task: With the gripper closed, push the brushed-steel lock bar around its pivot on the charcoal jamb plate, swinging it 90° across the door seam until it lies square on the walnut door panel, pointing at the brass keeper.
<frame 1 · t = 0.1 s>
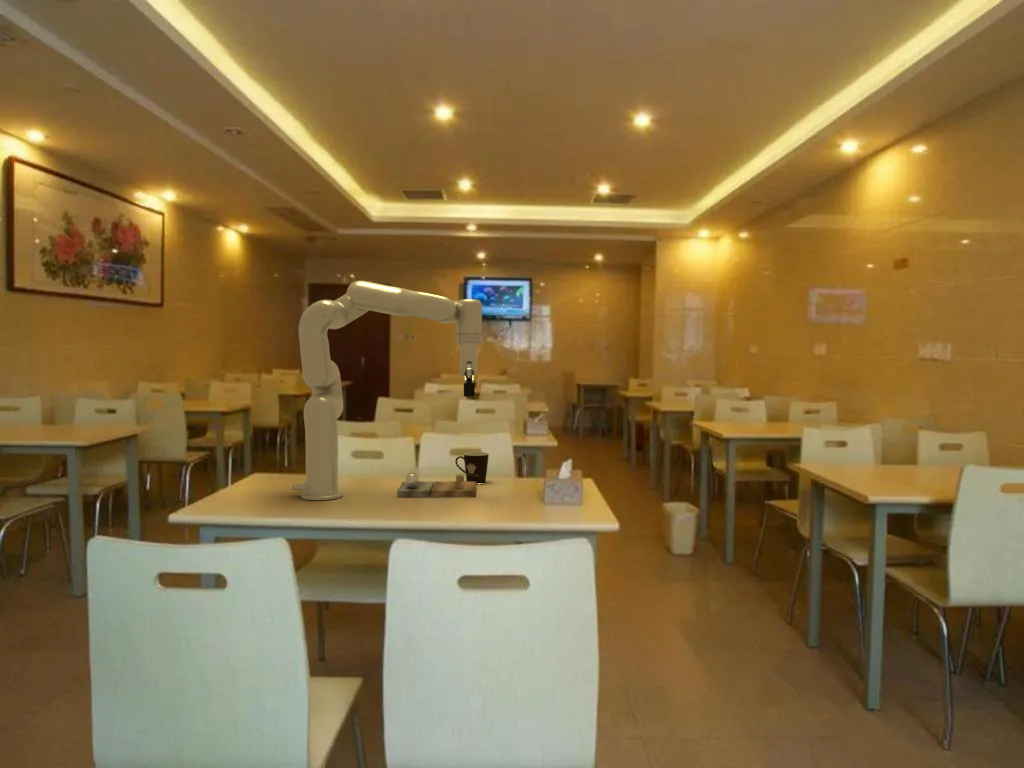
hand: (469, 395, 212), 31 cm above the table, tool pointing down, fingers open, 9 cm apart
coffee mug: (473, 482, 237), on the table
lock bar: (413, 477, 220), point 4 cm above the table, hinge at 0.0°
door jamb board: (438, 492, 219), on the table
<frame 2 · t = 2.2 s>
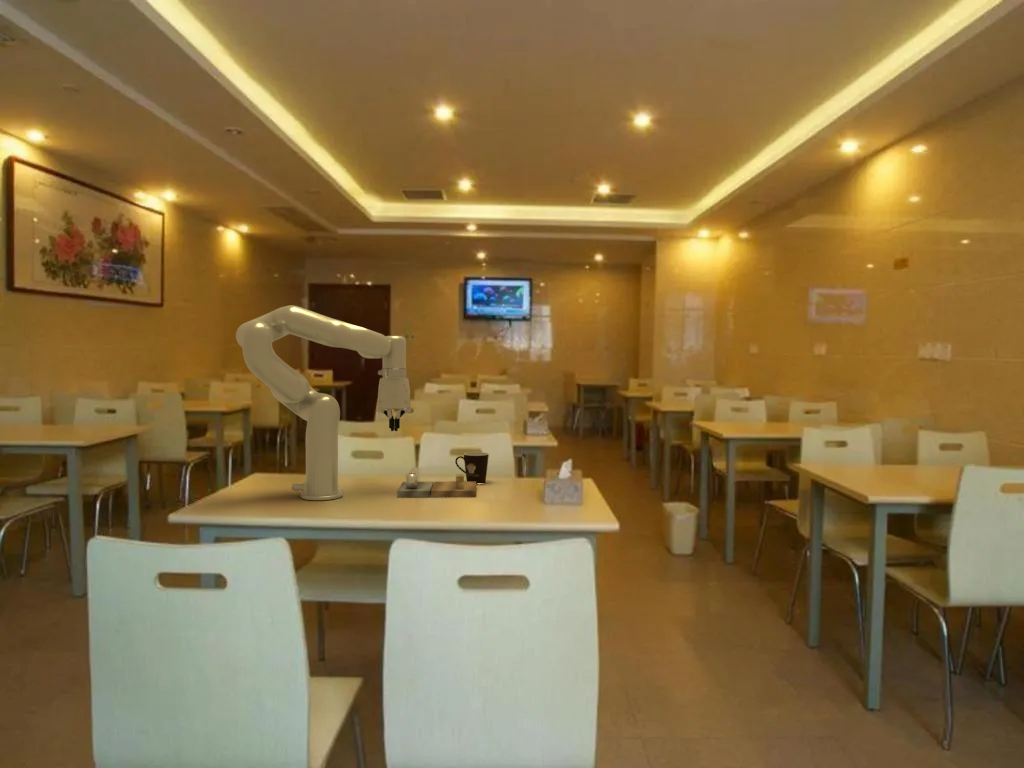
hand: (394, 430, 223), 19 cm above the table, tool pointing down, fingers closed
nothing on the table moved.
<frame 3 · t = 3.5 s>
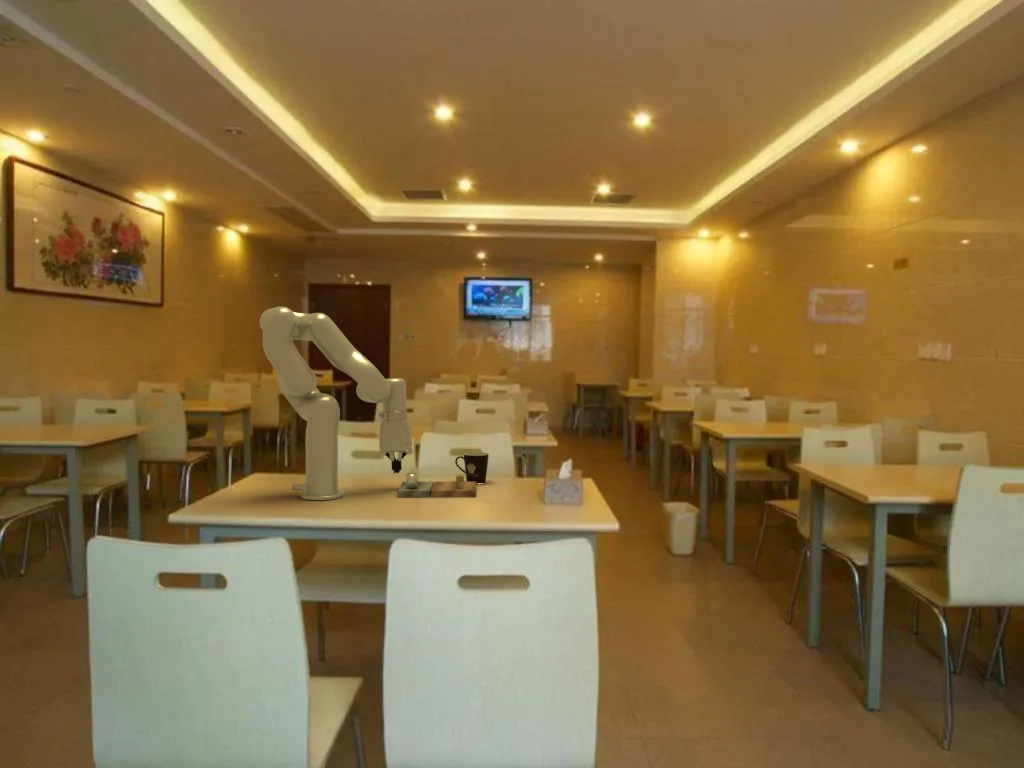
hand: (396, 472, 224), 5 cm above the table, tool pointing down, fingers closed
nothing on the table moved.
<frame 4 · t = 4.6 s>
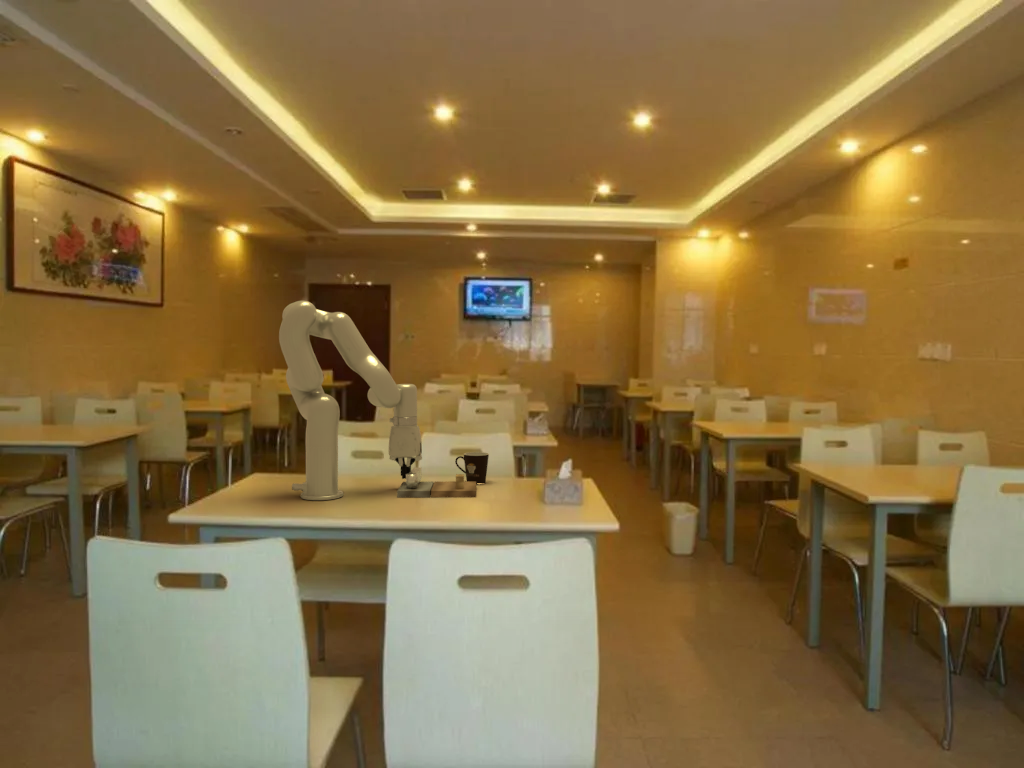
hand: (405, 478, 224), 4 cm above the table, tool pointing down, fingers closed
lock bar: (414, 477, 220), point 4 cm above the table, hinge at -3.0°, touching gripper
everything else where it was.
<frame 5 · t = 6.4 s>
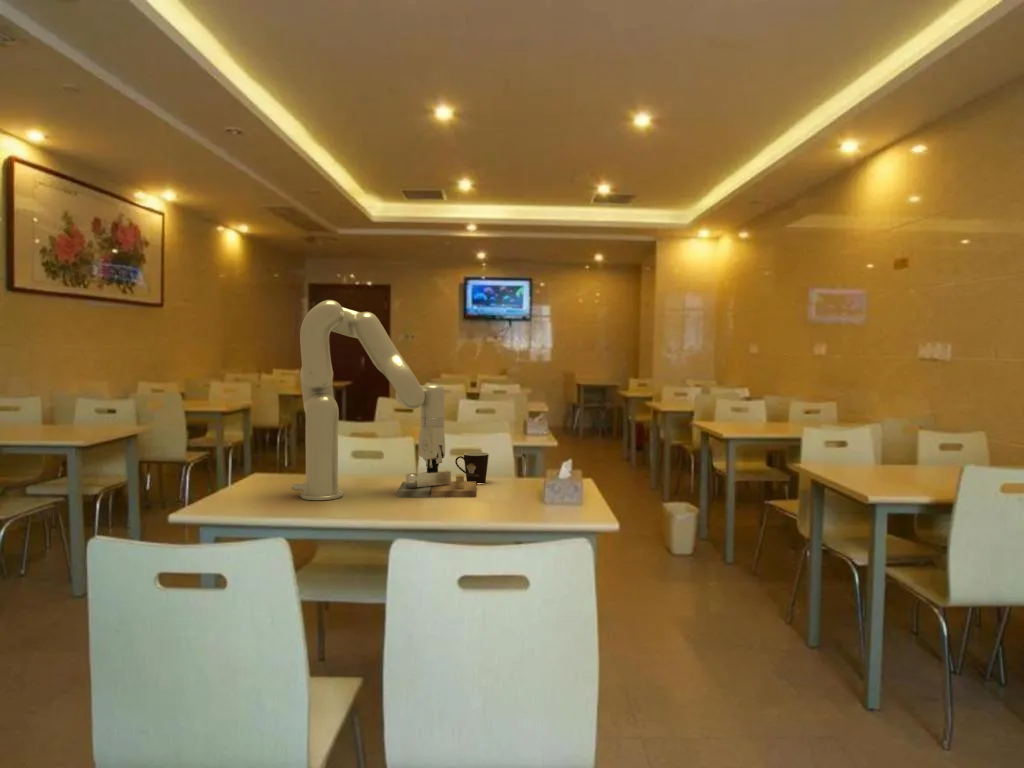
hand: (432, 479, 222), 3 cm above the table, tool pointing down, fingers closed
lock bar: (428, 478, 218), point 4 cm above the table, hinge at -61.0°, touching gripper
everything else where it was.
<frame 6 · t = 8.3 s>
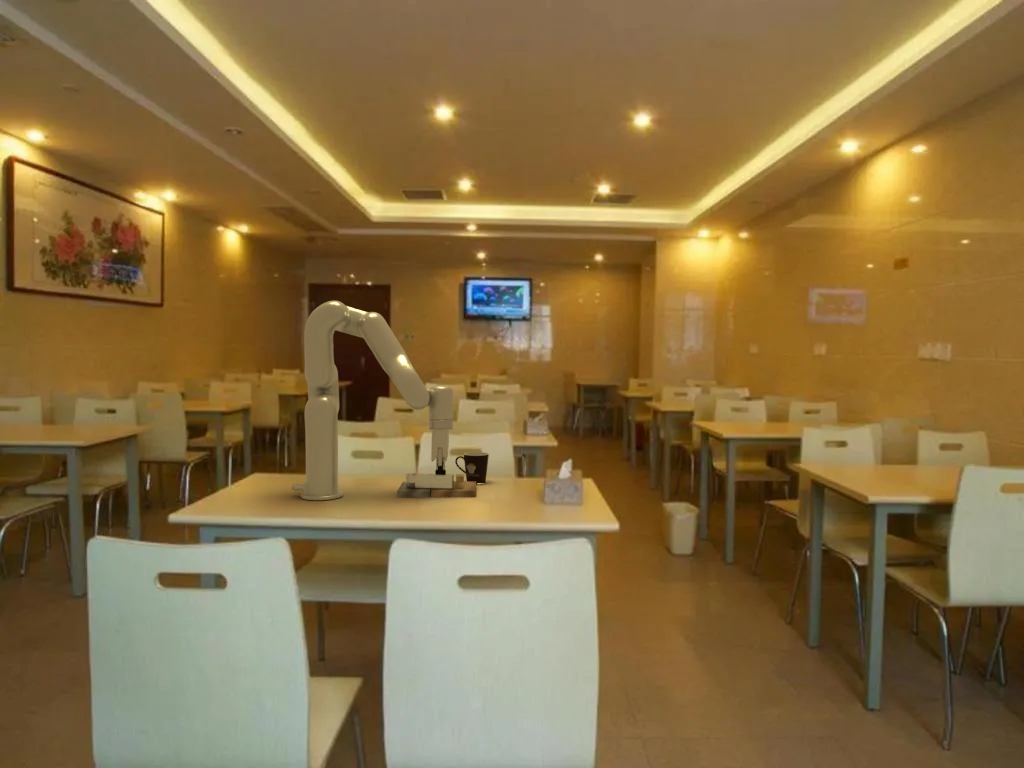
hand: (440, 482, 218), 3 cm above the table, tool pointing down, fingers closed
lock bar: (429, 480, 214), point 4 cm above the table, hinge at -97.3°, touching gripper
everything else where it was.
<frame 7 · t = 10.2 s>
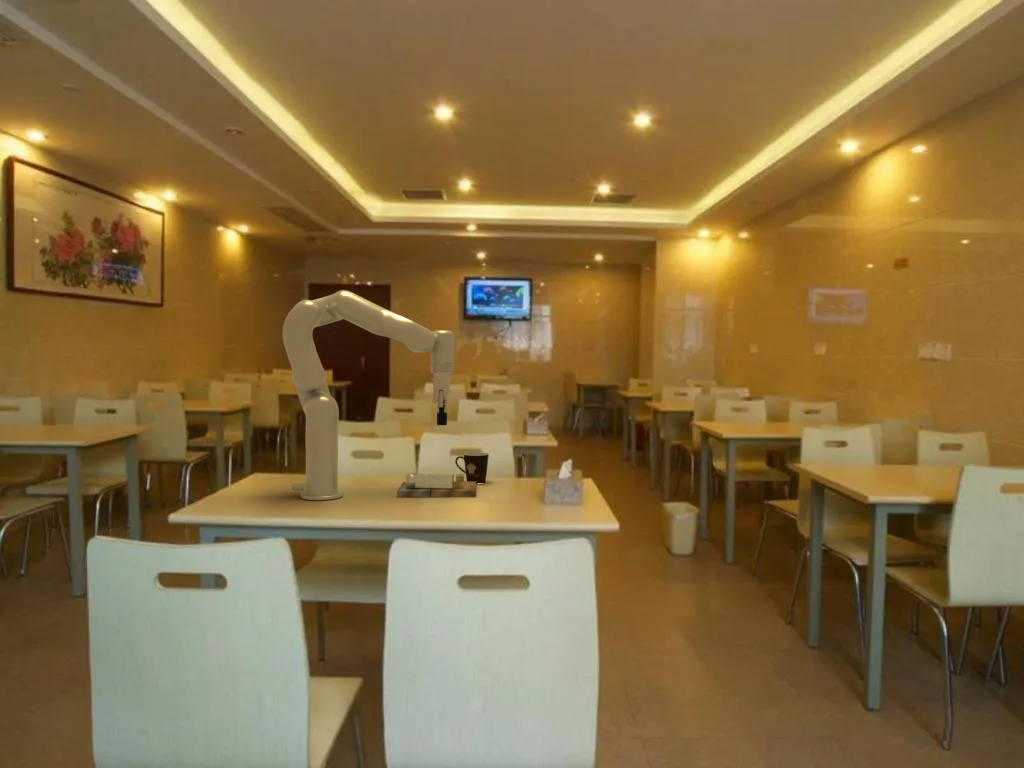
hand: (441, 425, 223), 21 cm above the table, tool pointing down, fingers closed
lock bar: (429, 480, 214), point 4 cm above the table, hinge at -96.9°
everything else where it was.
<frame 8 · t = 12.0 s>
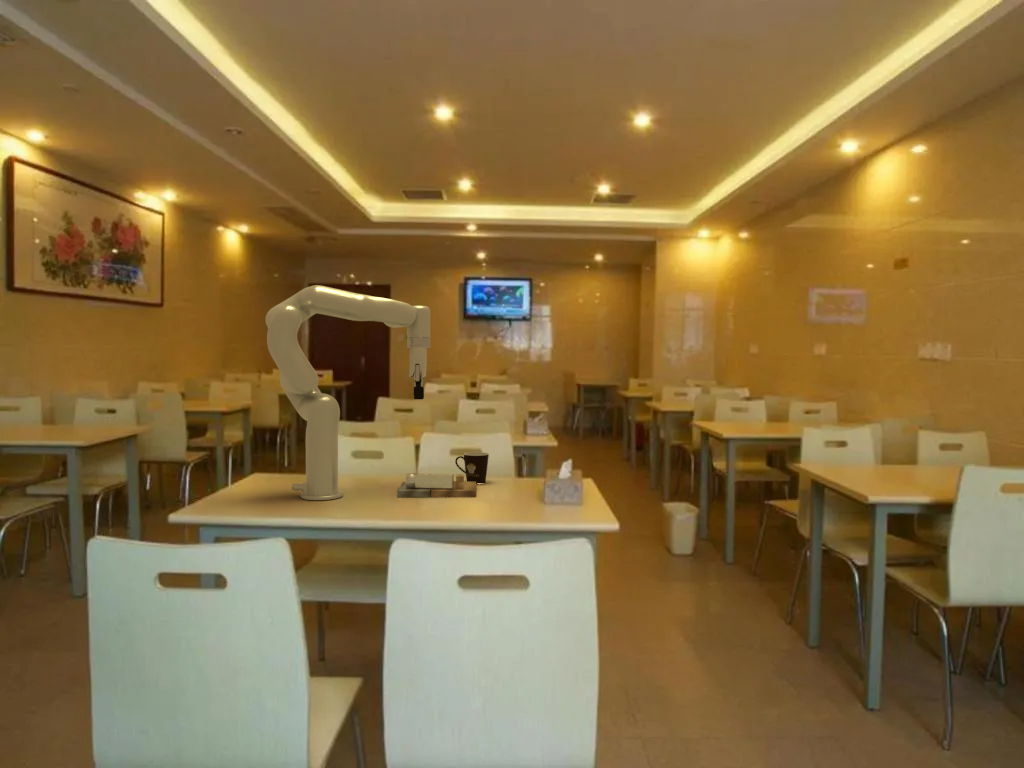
hand: (418, 399, 227), 29 cm above the table, tool pointing down, fingers closed
nothing on the table moved.
at the end: lock bar at -97° (first picture: +0°); coffee mug moved 0.2 cm from its start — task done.
